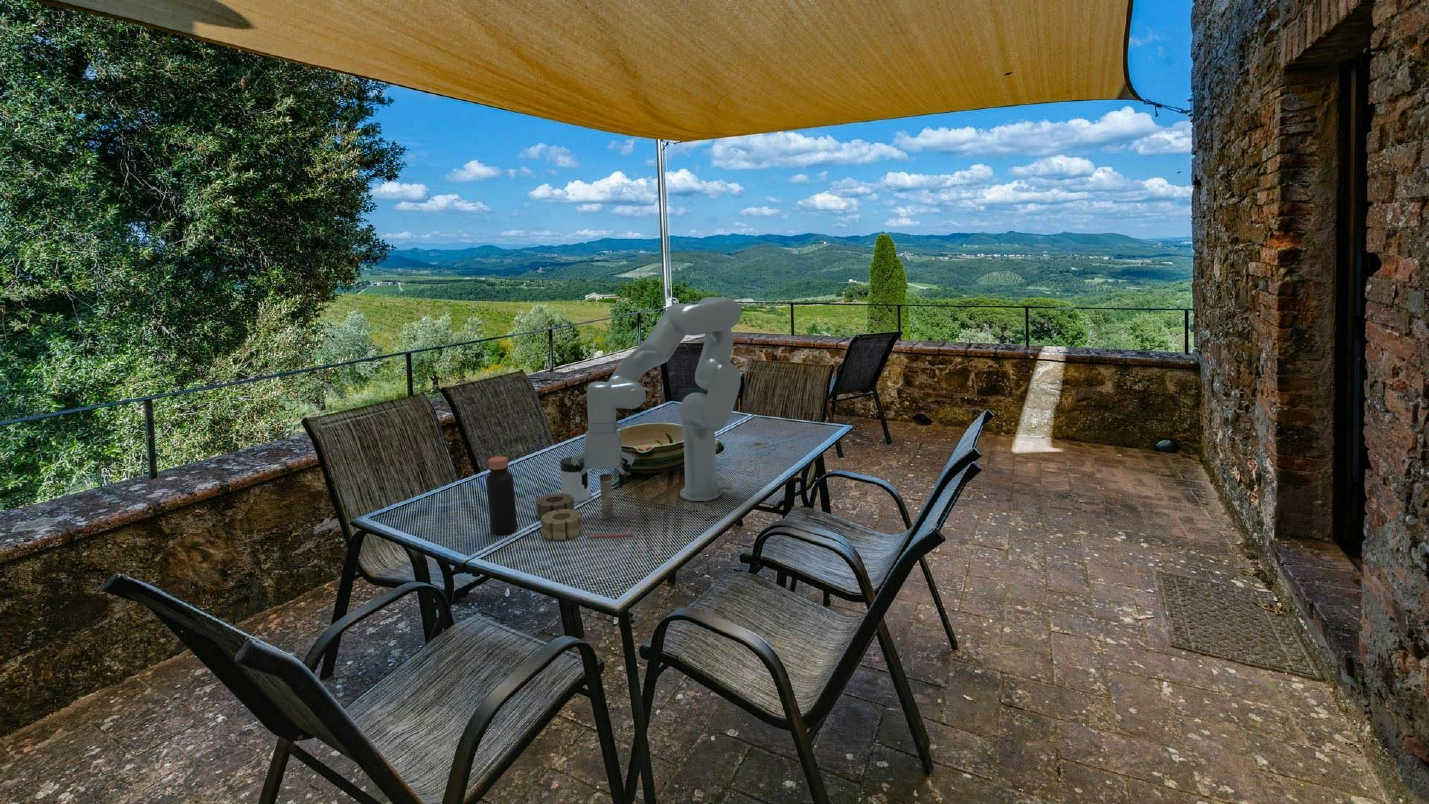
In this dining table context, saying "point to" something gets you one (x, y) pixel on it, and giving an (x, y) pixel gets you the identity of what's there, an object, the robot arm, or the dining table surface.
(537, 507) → the bead
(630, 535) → the reddish brown square stick
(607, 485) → the dowel
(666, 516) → the dining table surface
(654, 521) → the dining table surface
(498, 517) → the bottle
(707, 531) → the dining table surface
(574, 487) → the jar
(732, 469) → the dining table surface
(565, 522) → the bead
